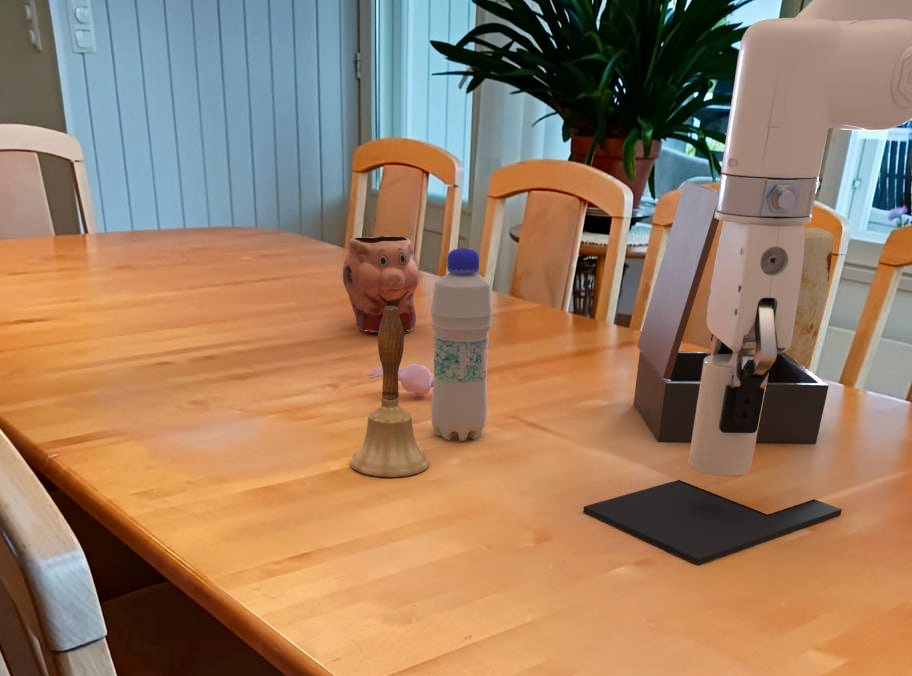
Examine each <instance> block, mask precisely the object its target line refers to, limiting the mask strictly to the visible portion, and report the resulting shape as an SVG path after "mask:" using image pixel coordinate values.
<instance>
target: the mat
mask: <svg viewBox="0 0 912 676" xmlns="http://www.w3.org/2000/svg"><path fill="white" fill-rule="evenodd" d="M842 511H843V510H842V508H841V507H840V508H839V507H837V506H835V505H831V504H829V503H826V502H823V501H820V500H819V499H818V500H817V499H815V498H813V499H810V500H807V501H805V502H801V503H797V504H795V505H793V506H789V507H787V508H782V509H780V510H777V511H774V512H770V513H765V512H763V511H760V510H757V509H755V508H752V507H750V506H747V505H745V504H742V503H739V502H737V501H735V500H731V499H730V498H726V497H724V496H722V495H719V494H716V493H714V492H712V491H709V490H707V489H704V488H701V487H698V486H696V485H693V484H691V483H689V482H686V481H683V480H681V479H676V480H673V481H669V482H666V483H662V484H659V485H655V486H652V487H651V486H650V487H648V488H645V489H641V490H638V491H634V492H631V493H627V494H624V495H620V496H616V497H612V498H610V499H609V498H608V499H607V500H606V499H605V500H601V501H598V502H595V503H592V504H591V503H590V504H588V505H585V506H583V513H584V514H585V515H588V516H591V517H593V518H595V519H597V520H599V521H601V522H604V523H606V524H608V525H610V526H613V527H615V528H617V529H618V530H620V531H623V532H625V533H627V534H629V535H632V536H633V537H636V538H638V539H640V540H643V541H645V542H647V543H648V544H651V545H653V546H656V547H657V548H660V549H661V550H664V551H666V552H668V553H670V554H673V555H674V556H677V557H678V558H681V559H683V560H686V561H688V562H690V563H692V564H694V565H696V566H700V565H702V564H705V563H707V562H710V561H714V560H716V559H719V558H722V557H725V556H728V555H732V554H733V553H736V552H739V551H742V550H745V549H748V548H751V547H753V546H756V545H760V544H762V543H765V542H769V541H771V540H773V539H776V538H779V537H782V536H784V535H785V536H786V535H788V534H790V533H793V532H796V531H799V530H802V529H804V528H807V527H810V526H813V525H815V524H818V523H821V522H825V521H827V520H830V519H833V518H835V517H838V516H841V515H842Z"/></svg>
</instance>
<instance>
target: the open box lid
mask: <svg viewBox="0 0 912 676" xmlns="http://www.w3.org/2000/svg"><path fill="white" fill-rule="evenodd" d="M717 196H718V190H715V189H713V188H710V187H707V186H705V185H702V184H700V183H696V182H694V181H691V180H684V184H683V187H682V191H681V194H680V197H679V201H678V204H677V207H676V212H675V215H674V217H673V221H672V225H671V228H670V231H669V235H668V239H667V242H666V245H665V248H664V252H663V256H662V260H661V263H660V266H659V270H658V273H657V276H656V280H655V284H654V286H653V290H652V293H651V297H650V301H649V303H648V304H649V305H648V308H647V311H646V314H645V318H644V321H643V324H642V327H641V331H640V335H639V338H638V342H637V345H636V347H637V348H638V349H639V351H641V352H642V353H643V354H644V355H645V356H646V358H647V359H648V360H649V361H650V363H651V364H652V365H653V366H654V368H655V369H656V370H657V371H658V373H659V374H660V375H661V376H662V378H664V379H670V377H671V374H672V371H673V368H674V364H675V361H676V358H677V355H678V352H679V351H680V348H681V344H682V341H683V339H684V335H685V332H686V329H687V327H688V323H689V319H690V316H691V314H692V309H693V306H694V304H695V300H696V297H697V294H698V291H699V288H700V284H701V281H702V278H703V275H704V272H705V268H706V266H707V262H708V258H709V256H710V252H711V248H712V245H713V243H714V240H715V237H716V233H717V230H718V227H719V224H720V220H718V219H716V218H714V217H715V210H716V203H717Z"/></svg>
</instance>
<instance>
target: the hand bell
mask: <svg viewBox="0 0 912 676" xmlns="http://www.w3.org/2000/svg"><path fill="white" fill-rule="evenodd" d="M404 333H405V332H403V327H402V323H401V320H400V317H399V312H398V307H396V306H386V307H385V310H384V314H383V317H382V321H381V323H380V327H379V332H378V333H377V350H378V356H379V360H380V364H381V367H382V369H383V376H382V386H381V387H382V389H381V390H382V392H381V404H380V406H379V407H377V408H375V409H374V410H371V411H370V412H369V413H368V416H367V424H366V429H365V435H364V439H363V441H362V443H361V446H360V447H359V449H358V450H357V451H356V452H355V453H354V454H353V455H352V456H351V458H350V461H349V464H350V466H351V468H352V469H353V470H354V471H356V472H359V473H361V474H365V475H367V476H373V477H381V478H400V477H408V476H413V475H417V474H421V473H422V472H424V471H426V470H427V469H428V468H429V466H430V462H429V459H428V457H427V456H426V454H425V453H424V452H422V451H421V449H420V447H419V445H418V443H417V441H416V438H415V433H414V428H413V427H414V426H413V420H412V419H413V418H412V414H411V413H410V412H409V411H407V410H405V409H404V408H401V407H400V405H399V397H400V393H399V380H398V370H399V368H400V365H401V363H402V359H403V355H404V348H405V334H404Z"/></svg>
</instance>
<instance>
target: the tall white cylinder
mask: <svg viewBox="0 0 912 676" xmlns="http://www.w3.org/2000/svg"><path fill="white" fill-rule="evenodd" d="M752 359H753V357H743V361H742V369H743V367H744V365H745V364H746V362H747V361H748V360H752ZM731 369H732V354H716V355H710V356H707V357H705V358H704V361H703V368H702V374H701V381H700V387H699V394H698V400H697V407H696V413H695V420H694V427H693V433H692V440H691V443H690V446H689V453H688V458H687V459H688V460H687V464H688V466H689V467H690V468H691V469H693V470H695V471H696V472H700V473H702V474H707V475H711V476H715V477H716V476H717V477H738V476H743V475H746V474H748V473H749V472H751V470H752V465H753V460H754V455H755V449H756V445H757V444H756V439H757V433H758V428H759V423H760V418H759V423H758V428H757V431H756V432H755V433H723V432H721V430H720V429H719V423H720V418H721V412H722V406H723V400H724V394H725V388H726V385H731ZM768 375H769V373H768ZM765 391H766V388H765ZM765 391H764V396H765ZM764 396H763V401H764ZM762 407H763V402H762ZM762 407H761V412H762ZM761 412H760V417H761Z"/></svg>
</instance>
